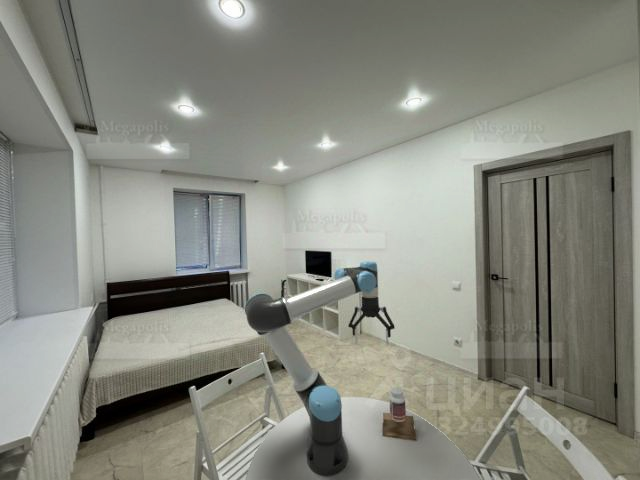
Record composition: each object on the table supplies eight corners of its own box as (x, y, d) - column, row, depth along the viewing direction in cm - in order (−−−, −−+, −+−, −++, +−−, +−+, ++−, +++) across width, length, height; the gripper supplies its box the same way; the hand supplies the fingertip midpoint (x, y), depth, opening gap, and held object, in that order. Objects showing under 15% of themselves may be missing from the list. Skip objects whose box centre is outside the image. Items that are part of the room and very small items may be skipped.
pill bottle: (409, 418, 107) (408, 391, 107) (399, 424, 104) (397, 397, 104) (397, 410, 113) (396, 384, 113) (387, 416, 109) (385, 389, 109)
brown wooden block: (382, 436, 106) (381, 421, 106) (382, 424, 113) (382, 410, 113) (416, 440, 103) (415, 425, 103) (414, 428, 110) (414, 413, 110)
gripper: (341, 297, 118) (342, 345, 118) (399, 298, 112) (401, 348, 112) (343, 294, 125) (345, 338, 125) (398, 294, 119) (400, 341, 119)
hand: (371, 343), depth 118 cm, fingers open, 13 cm apart
